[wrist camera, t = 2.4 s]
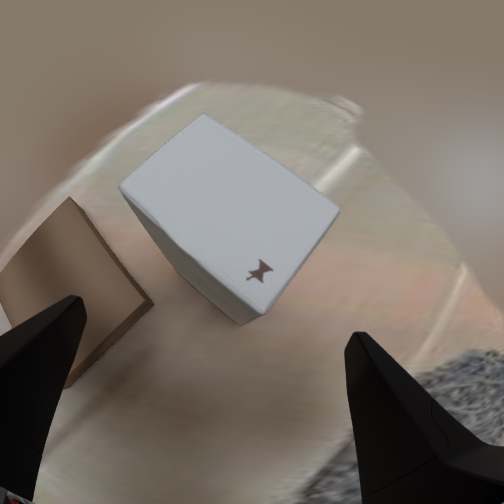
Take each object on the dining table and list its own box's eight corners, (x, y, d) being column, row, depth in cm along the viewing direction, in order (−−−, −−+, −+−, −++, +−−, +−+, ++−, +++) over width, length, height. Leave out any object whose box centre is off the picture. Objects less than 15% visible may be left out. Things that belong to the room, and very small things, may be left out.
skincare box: (279, 280, 20) (349, 210, 8) (240, 327, 19) (264, 323, 7) (213, 226, 20) (204, 107, 9) (173, 269, 19) (110, 188, 8)
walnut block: (71, 386, 16) (51, 392, 14) (13, 289, 18) (-8, 283, 15) (156, 304, 19) (144, 300, 16) (85, 211, 20) (69, 196, 17)
